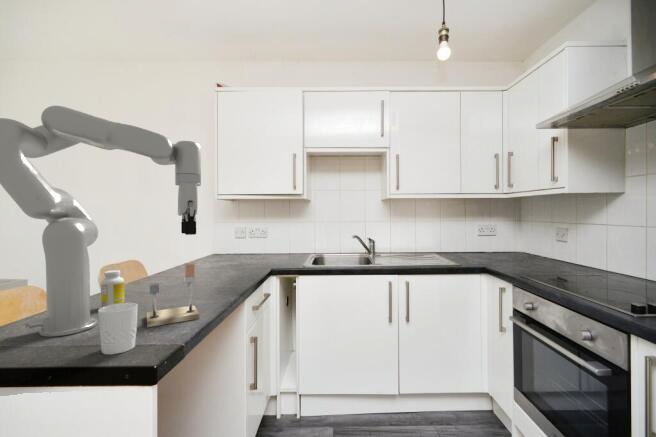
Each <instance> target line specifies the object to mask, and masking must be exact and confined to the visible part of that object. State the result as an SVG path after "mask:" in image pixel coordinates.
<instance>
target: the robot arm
mask: <svg viewBox="0 0 656 437" xmlns="http://www.w3.org/2000/svg"><path fill="white" fill-rule="evenodd" d="M40 121H41V123H42V124H41V125H39V126H35V127H31V126H28V124H24V123H23V122H21V121H18V120H15V119H11V118H5V117H0V185H1V187H2V189H4V190H5V192H6V193H7V194H8V195H9V196H10V198H11V199H12V200H13V201H14V202H15V203H16V204H17V206H18V207H19V209H21V211H22V212H23V213H24V214H25V215H27V216H28V217H29V218H32V219H36V220H45V221H46V222H47V225H46V226H45V228H44V230H43V231H42V236H41V240H42V242H41V243H42V248H43V252H44V258H45V276H46V277H45V283H46V289H45V290H46V315H44V316H42V317H41V318H31V319H26V321H25V327H26V328H29V329H32V328H38V327H41V328H40V329H39V331H38V332H39V335H40V336H41V337H61V336H69V335H73V334H78V333H81V332H84V331H87V330H90V329H92V328H94V327H96V326H97V324H98V320H97V318H94V317H91V291H90V290H91V281H90V280H91V279H90V278H91V275H90V274H91V273H90V270H91V269H90V266H91V265H90V256H89V249H88V247H90V246H91V245H93V244H94V243H95V242H96V240H97V239H98V236H99V229H98V226H97V225H96V224H95V222H94V220H93V219H92V218H91V217H90V216H89V215H88V213H87V212H86V210H84V208H83V207H82V206H81V204H80V203H79V202H78V201H77V200H76V198H74V196H72V195H71V194H70V193H69V192H68V191H67V190H66V191H65V190H63V189H61V188H57V187H54V186H52V184H50V183H49V182H48V180H46V178H45V177H44V176H43V175H42V174H41V172H40V170H38V169H37V168H36V166H34V164H33V163H32V162H31V161H30V160H29V159H36V158H37V159H38V158H42V157H43V158H44V157H45V156H49V155H51V154H54V153H58V152H59V151H63V150H66V149H68V148H70V147H73V146H75V145H78V144H80V143H81V144H85V145H88V146H92V147H95V148H99V149H102V150H106V151H114V150H120V151H126V152H131V153H133V154H137V155H141V156H143V157H144V156H145V157H147V158H150V160H152V161H153V162H154V163H155V164H158V165H161V166H171V165H174V166H175V167H174V169H175V170H174V173H175V175H174V180H175V182H174V183H175V186H178V190H177V191H178V194H177V215H178V216H181V223H180V224H181V226H180V227H181V230H180V231H181V234H184V235H186V236H187V235H188V236H189V235H190V236H191V235H196V234H197V220H196V219H197V217H196V215H197V214H198V187H200V186H201V184H202V173H201V172H202V168H201V166H202V165H201V164H202V162H201V161H202V159H201V158H202V156H201V154H202V153H201V152H202V151H201V145H200V144H199V143H197V142H196V141H195V142H194V141H191V140H180V141H177V142H175V143H172V142H171V140H170V139H169V138H168V137H166V136H164V135H163V134H160V133H158V132H155V131H152V130H148V129H146V128H145V129H144V128H142V127H139V126H136V125H130V124H125V123H120V122H115V121H112V120H108V119H106V118H102V117H97V116H95V115H92V114H88V113H85V112H82V111H79V110H76V109H73V108H70V107H66V106H62V105H52V106H48V107H46V108H45V109H44V110H43V111H42V113H41V116H40Z"/></svg>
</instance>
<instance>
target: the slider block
mask: <svg viewBox="0 0 656 437" xmlns="http://www.w3.org/2000/svg"><path fill="white" fill-rule="evenodd" d="M195 281H196V276H195V264H194V262H187V263H185V262H184V275H183V282H185V283H186V282H189V286H188V306H189V310H192V306H193V286H192V282H195Z"/></svg>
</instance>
